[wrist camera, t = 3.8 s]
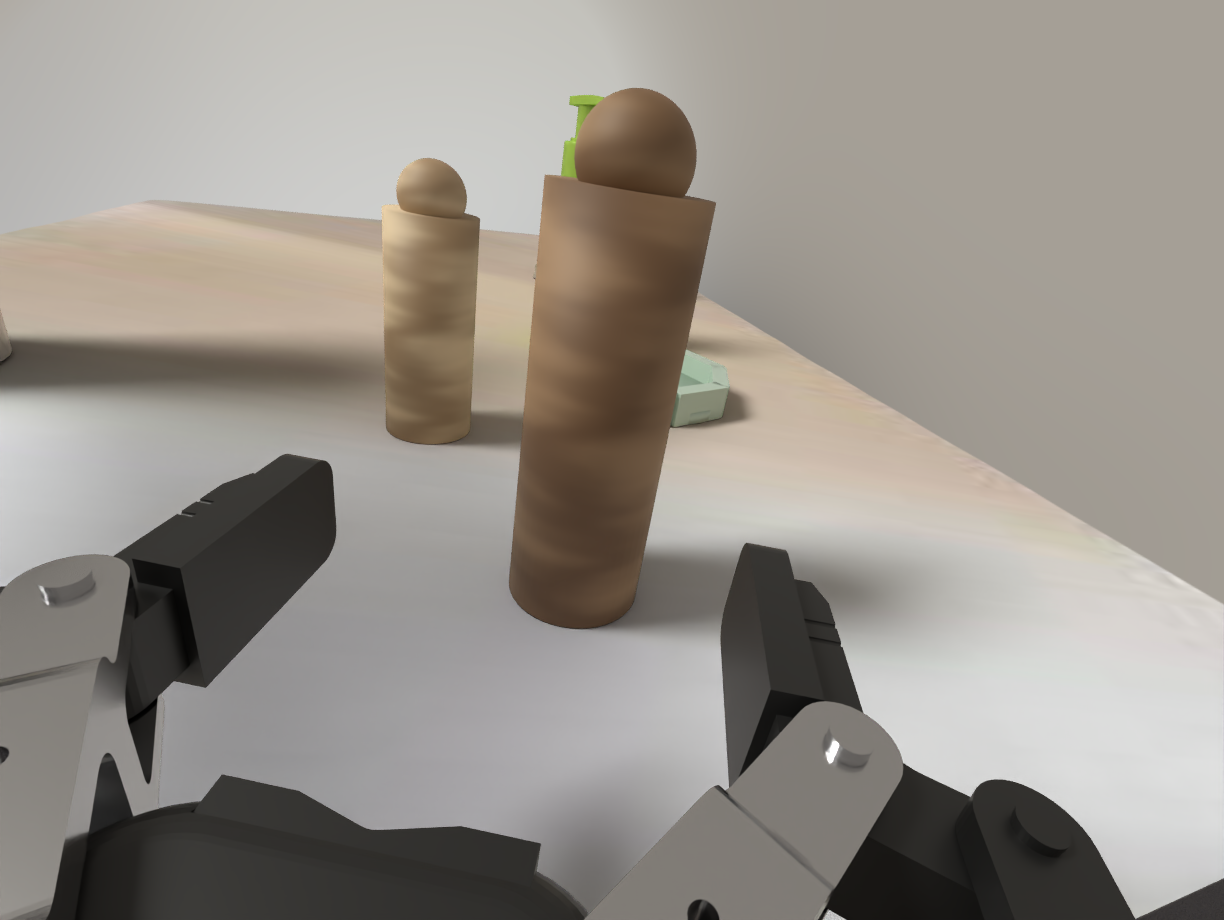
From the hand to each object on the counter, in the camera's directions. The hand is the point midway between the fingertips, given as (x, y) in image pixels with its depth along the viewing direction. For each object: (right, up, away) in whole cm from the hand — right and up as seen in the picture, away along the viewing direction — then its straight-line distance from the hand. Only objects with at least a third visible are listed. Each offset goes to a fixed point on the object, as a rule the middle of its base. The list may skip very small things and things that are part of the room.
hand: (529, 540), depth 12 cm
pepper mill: (0, -4, +13) cm, 14 cm away
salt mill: (-9, +4, +24) cm, 26 cm away
